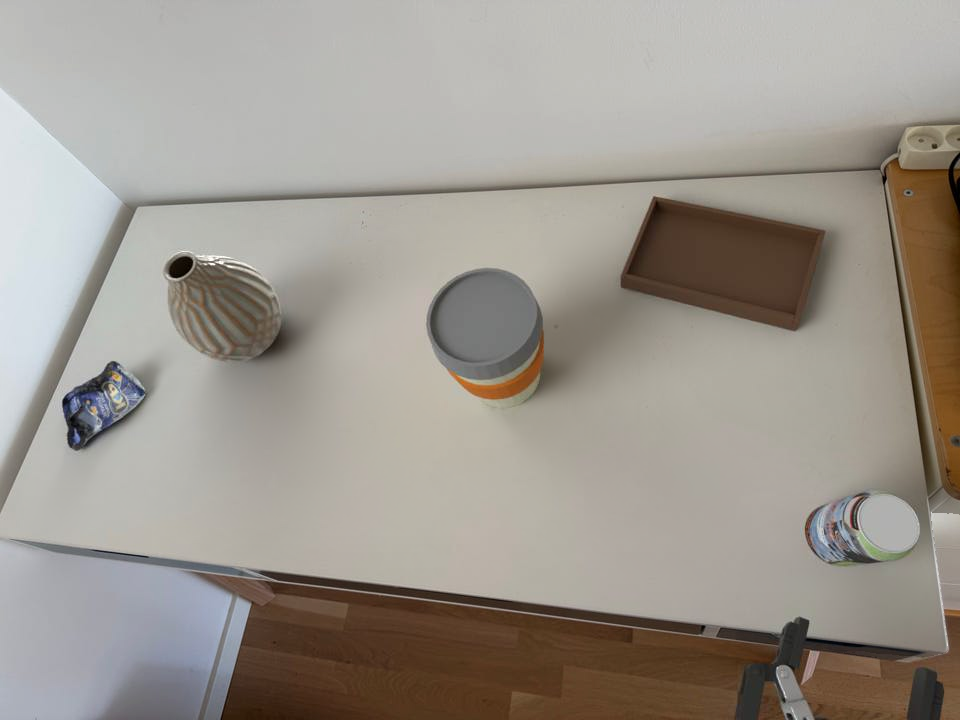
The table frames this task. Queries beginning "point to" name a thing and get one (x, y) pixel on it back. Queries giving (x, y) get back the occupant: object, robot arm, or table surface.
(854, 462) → the table surface
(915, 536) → the beverage can
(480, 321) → the reusable coffee cup
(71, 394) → the snack package
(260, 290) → the vase
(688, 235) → the serving tray
